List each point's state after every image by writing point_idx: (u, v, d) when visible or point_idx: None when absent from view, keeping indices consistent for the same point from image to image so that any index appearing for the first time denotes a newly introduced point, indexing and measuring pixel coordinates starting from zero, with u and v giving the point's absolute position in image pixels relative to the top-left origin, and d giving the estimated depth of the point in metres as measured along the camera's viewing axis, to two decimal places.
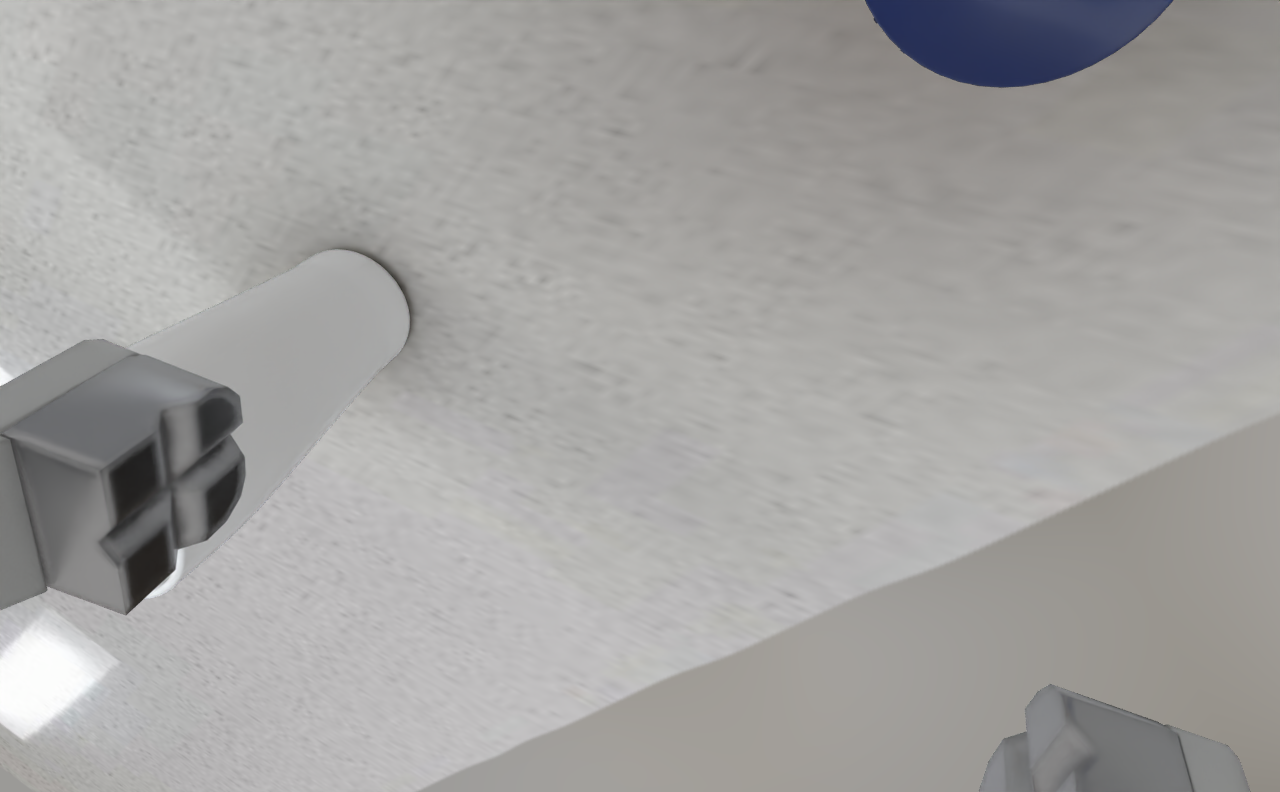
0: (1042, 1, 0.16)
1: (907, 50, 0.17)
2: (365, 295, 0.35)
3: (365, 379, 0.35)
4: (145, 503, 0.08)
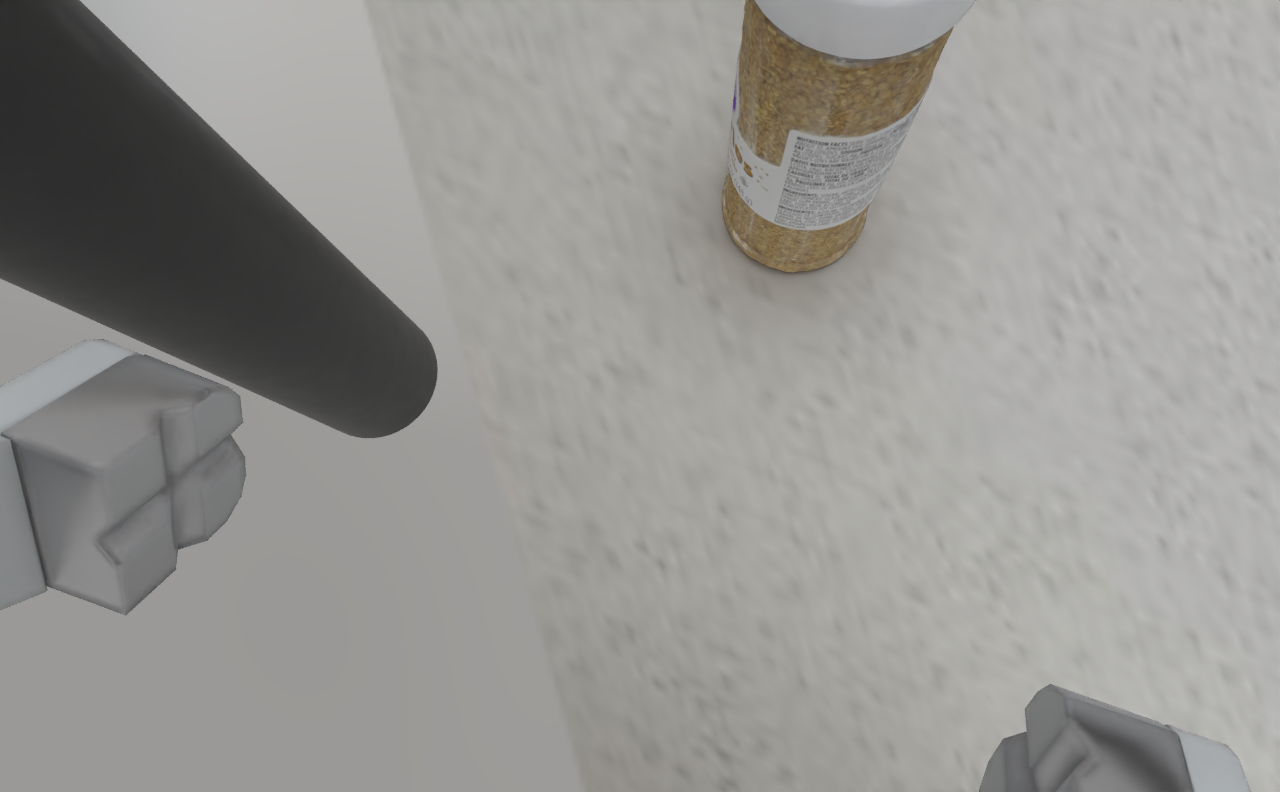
0: None
1: None
2: None
3: None
4: (145, 503, 0.08)
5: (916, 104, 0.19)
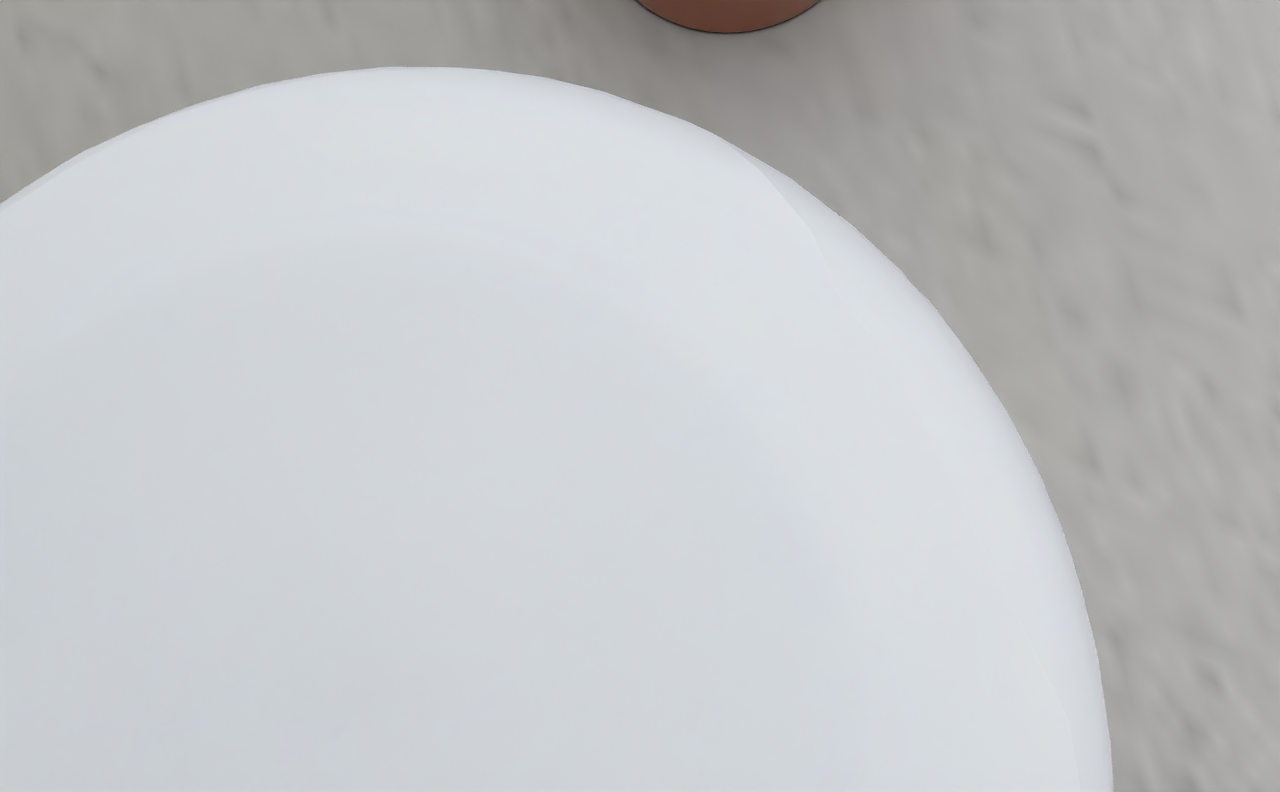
0: None
1: None
2: None
3: None
4: None
5: None
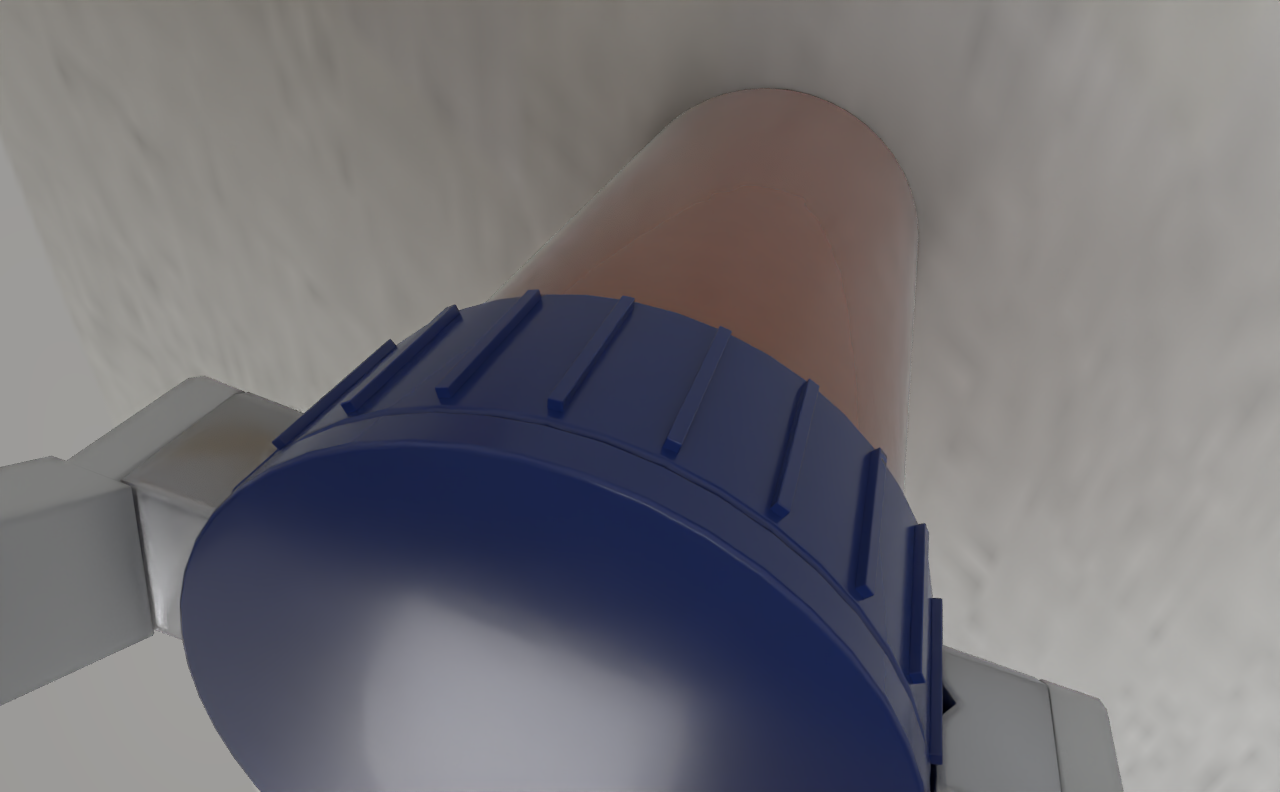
0: (708, 777, 0.06)
1: None
2: None
3: None
4: None
5: None
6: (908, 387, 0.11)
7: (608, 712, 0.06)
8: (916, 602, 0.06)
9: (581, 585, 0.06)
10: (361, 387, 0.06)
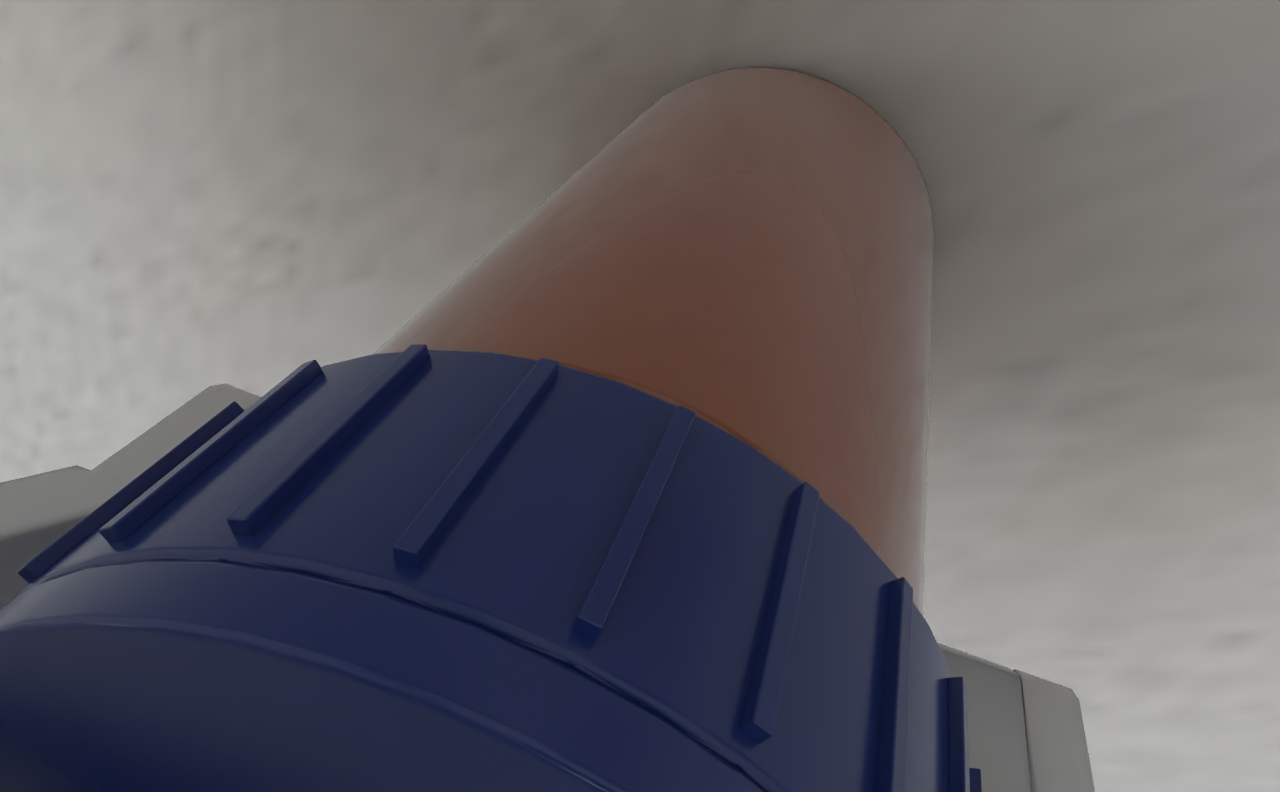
0: None
1: None
2: None
3: None
4: None
5: None
6: None
7: None
8: None
9: None
10: (137, 501, 0.04)
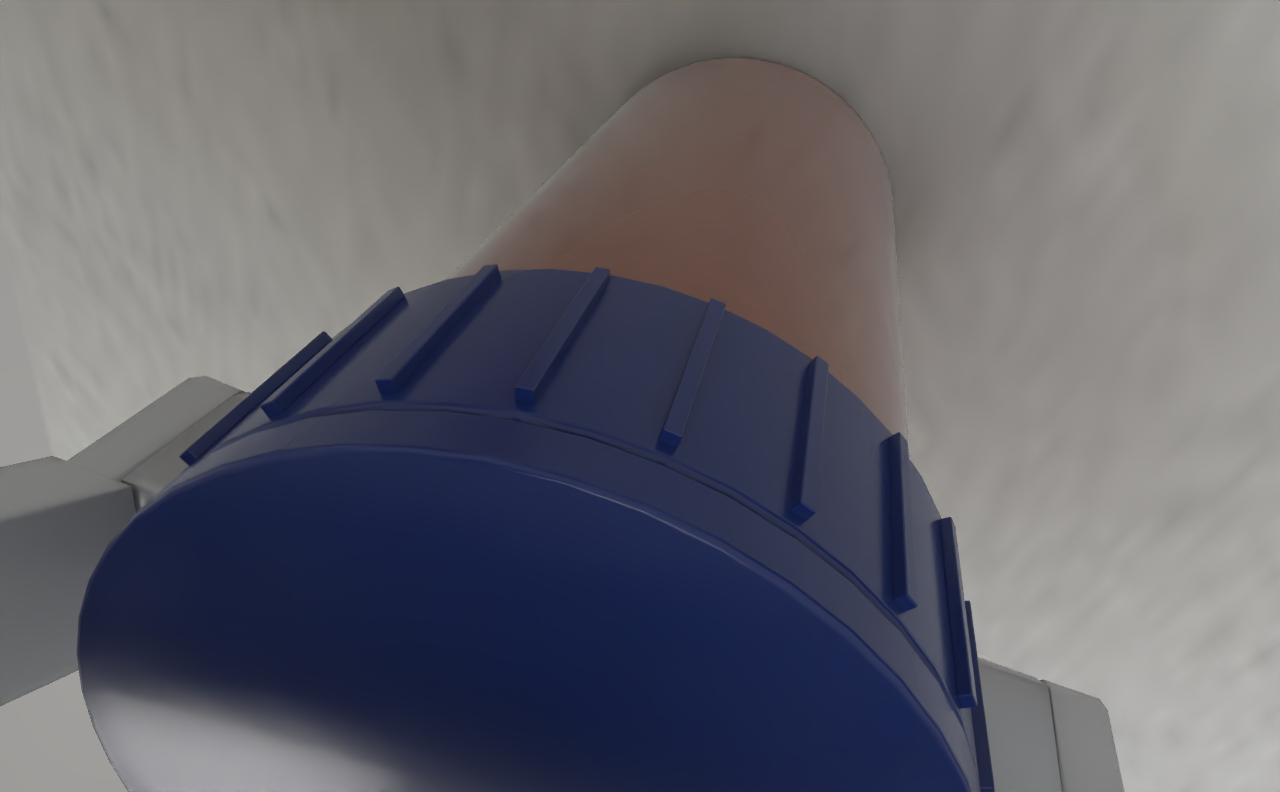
0: (514, 679, 0.05)
1: (953, 791, 0.05)
2: None
3: None
4: None
5: None
6: None
7: (410, 707, 0.05)
8: (550, 335, 0.05)
9: (233, 626, 0.05)
10: None
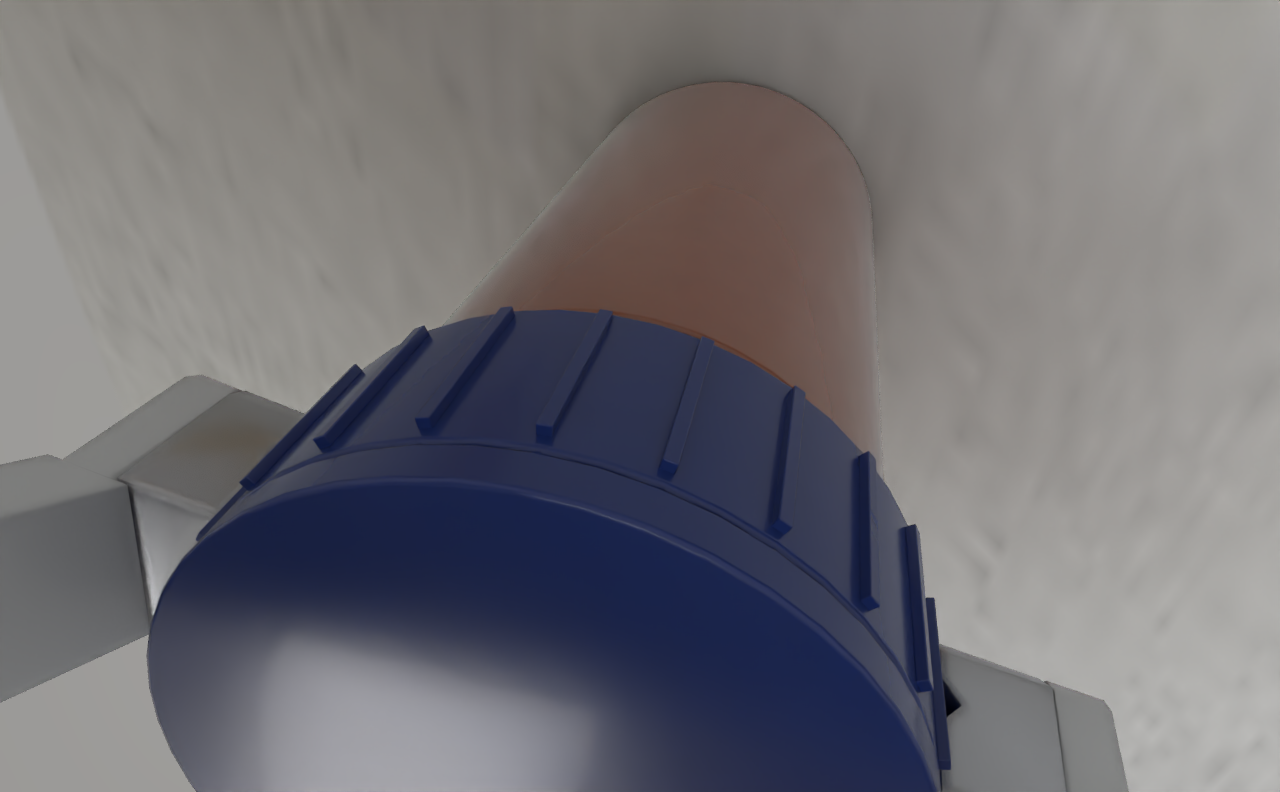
0: (342, 694, 0.06)
1: (512, 503, 0.05)
2: None
3: None
4: None
5: None
6: (877, 364, 0.11)
7: (368, 765, 0.07)
8: None
9: None
10: None
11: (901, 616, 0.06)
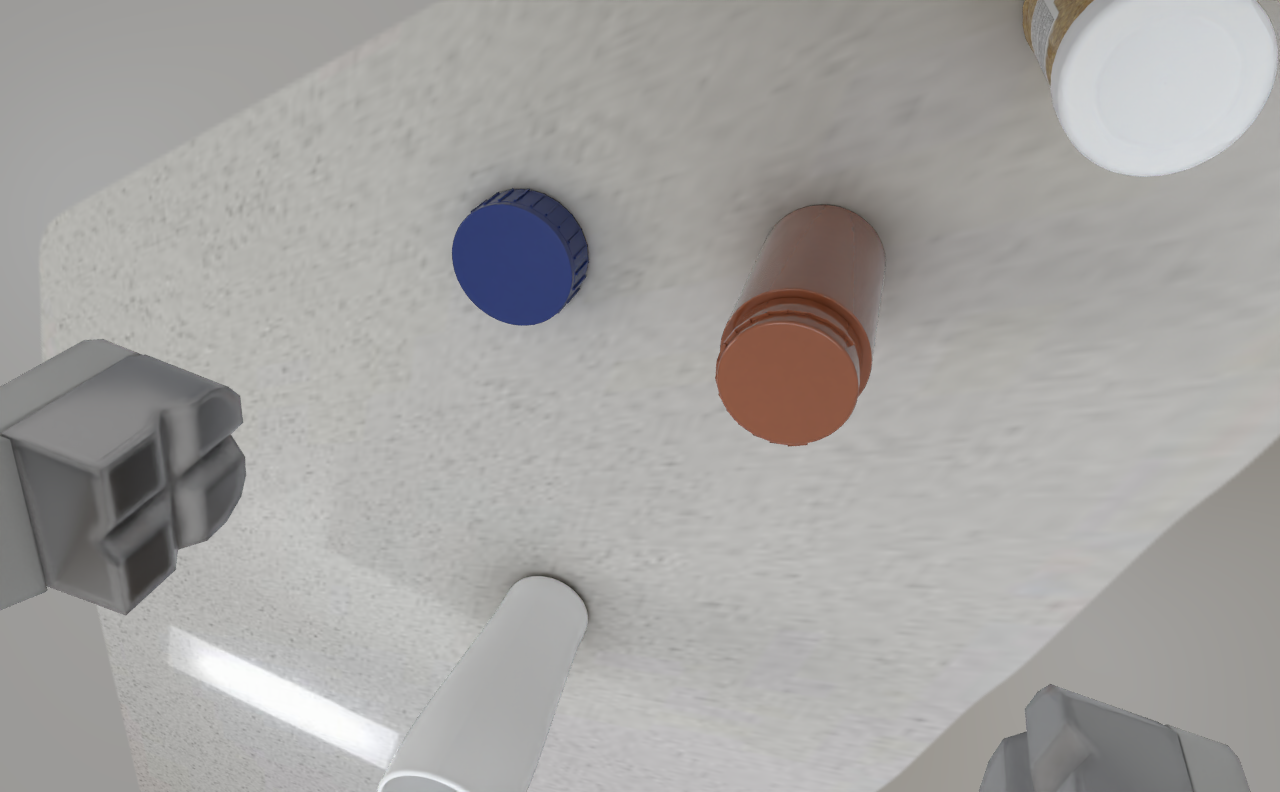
0: (484, 244, 0.41)
1: (509, 207, 0.39)
2: (552, 607, 0.52)
3: (569, 663, 0.51)
4: (145, 503, 0.08)
5: None
6: None
7: (487, 261, 0.41)
8: None
9: (471, 273, 0.42)
10: None
11: (568, 234, 0.40)
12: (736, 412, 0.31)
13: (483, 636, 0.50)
